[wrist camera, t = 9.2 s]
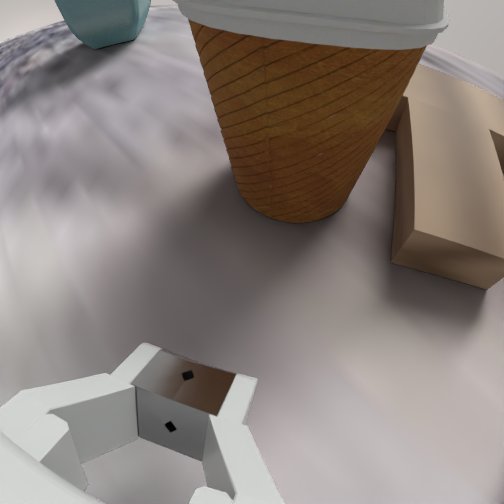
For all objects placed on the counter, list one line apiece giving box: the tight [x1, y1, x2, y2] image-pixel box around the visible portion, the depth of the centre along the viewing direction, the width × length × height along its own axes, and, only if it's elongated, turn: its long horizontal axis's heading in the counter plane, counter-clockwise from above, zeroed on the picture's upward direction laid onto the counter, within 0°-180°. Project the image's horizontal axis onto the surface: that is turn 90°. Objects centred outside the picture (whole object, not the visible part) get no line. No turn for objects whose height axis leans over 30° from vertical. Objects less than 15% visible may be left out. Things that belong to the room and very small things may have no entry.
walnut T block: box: [385, 64, 504, 290], centre depth 16 cm, size 24×16×3 cm, turn 73°
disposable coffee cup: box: [173, 0, 450, 223], centre depth 12 cm, size 10×10×12 cm
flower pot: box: [55, 0, 151, 49], centre depth 25 cm, size 9×9×9 cm
